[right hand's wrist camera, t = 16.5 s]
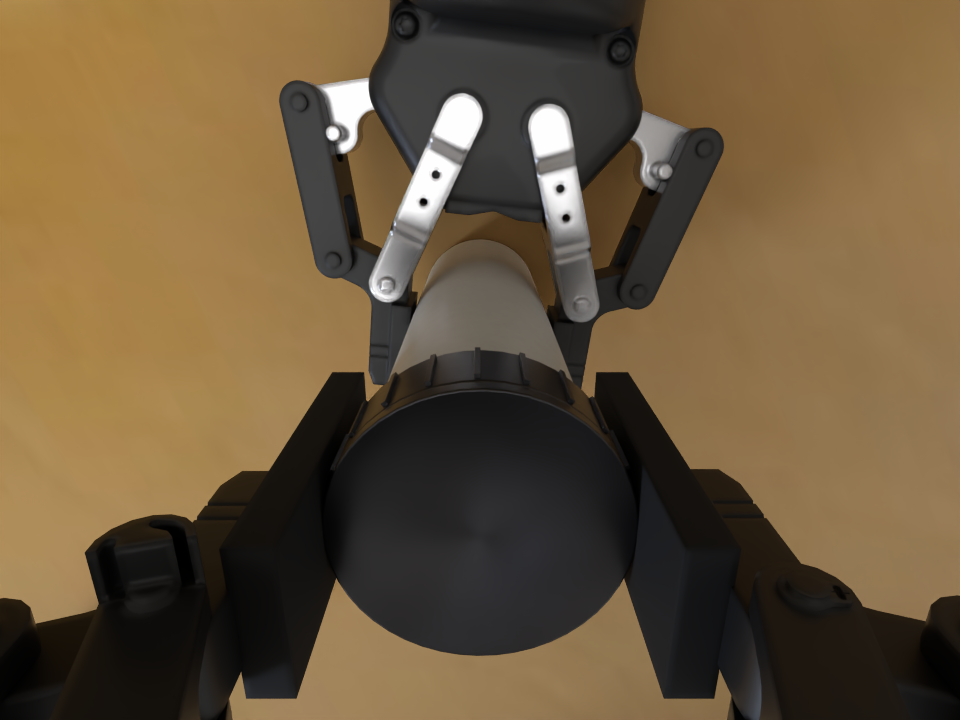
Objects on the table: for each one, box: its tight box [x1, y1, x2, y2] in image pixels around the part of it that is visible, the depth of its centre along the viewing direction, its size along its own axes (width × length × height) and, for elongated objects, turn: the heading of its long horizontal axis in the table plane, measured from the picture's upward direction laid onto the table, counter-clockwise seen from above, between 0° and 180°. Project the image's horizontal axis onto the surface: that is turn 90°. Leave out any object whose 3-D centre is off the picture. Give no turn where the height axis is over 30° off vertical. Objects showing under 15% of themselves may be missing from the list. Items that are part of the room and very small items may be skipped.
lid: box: [322, 347, 639, 656], centre depth 11 cm, size 6×6×2 cm
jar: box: [388, 239, 573, 382], centre depth 19 cm, size 5×5×17 cm
